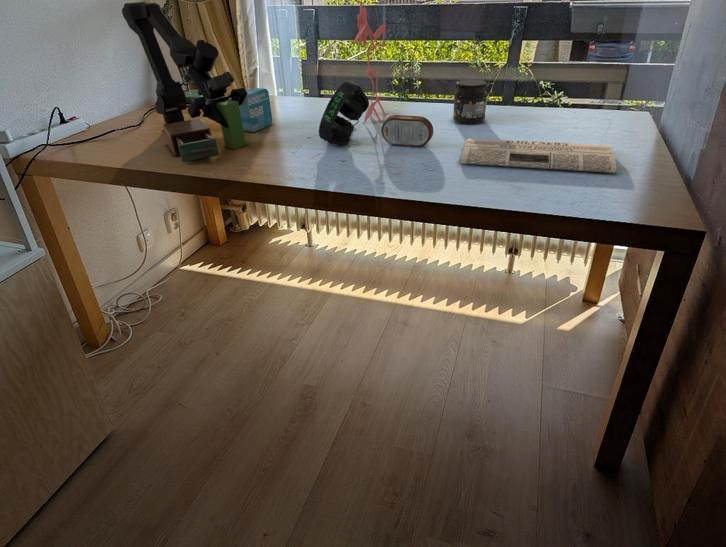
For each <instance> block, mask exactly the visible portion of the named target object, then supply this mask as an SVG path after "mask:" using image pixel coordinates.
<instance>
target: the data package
mask: <svg viewBox="0 0 726 547" xmlns="http://www.w3.org/2000/svg"><path fill="white" fill-rule="evenodd" d="M246 91H247V93H248V94H247V96H246V98H245V100H244V102H243V104H242V105H240V106H239V109H240V115H241V120H242V126H243V132H246V133H247V132H248V133H255V132H258V131H260V130H262V129H265V128H267V127H269V126H271V125H272V124H273V114H272V107H271V101H270V93H269V90H268V89H267V88H263V87H254V88H251V89H248V90H246Z"/></svg>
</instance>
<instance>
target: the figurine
mask: <svg viewBox="0 0 726 547" xmlns="http://www.w3.org/2000/svg"><path fill="white" fill-rule="evenodd" d="M356 19H357V29H358V33H356V35H355V38H354V40H353V43H352V46H355V45H356V44H357V42H358V41H359V43H360V44H361V43H362V45H363V46H362V47H363V48H364V49H365V48H366V45H367V36H369V39H370V41H371V44H372V47H371V48H370V49H368V51H367V53H366V54H367V55H366V56H367V66H368V69H367V70H366V72H365V73H366V76H367V77H368V78H369V79H370V81H371V84H372V93H371V103H370V104H369V107H368V108H367V110H366V111H365V116H364V121H363V122H367V121H368V119H369V118H370V116H371V115H372V113H373V112H374V114H375V116H376V118H377V119H378V122H379V123H380V122H381V121H382V120H381V118H380V116H379V114H378V113H377V110H376V109H375V106H376V104H378V105H379V107H380V109H381V112H382V114H383V115H384V116H385V115H386V112H385V110H384V108H383V105H382V104H381V101H380V100H379V99H380V96H378V87H379V86H378V84H379V77H378V76H376V75H375V70H374V69H373V68H371V67H370V66H371V65H370V52H371V51H373V50H376V49H377V47H378V46H379V47H381V48H384V47H385V38H386V26H387V23H386V22H384V23H383V24H382V25H380V26H379V27H378V28H377V29H376V31H375V32H374V33H373V30H372V29H371V28H370V25H369V22H368V19H367V7H366V6H363V4H362V3H360V5H359V13H357V18H356ZM380 36H382V43H380V42H379V41H378V38H379V37H380ZM373 77H374V78H375V79H376V86H375V83H374V82H373V79H372V78H373ZM375 87H376V90H375ZM374 92H376V93H375V94H376V95H375V101H374Z"/></svg>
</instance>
